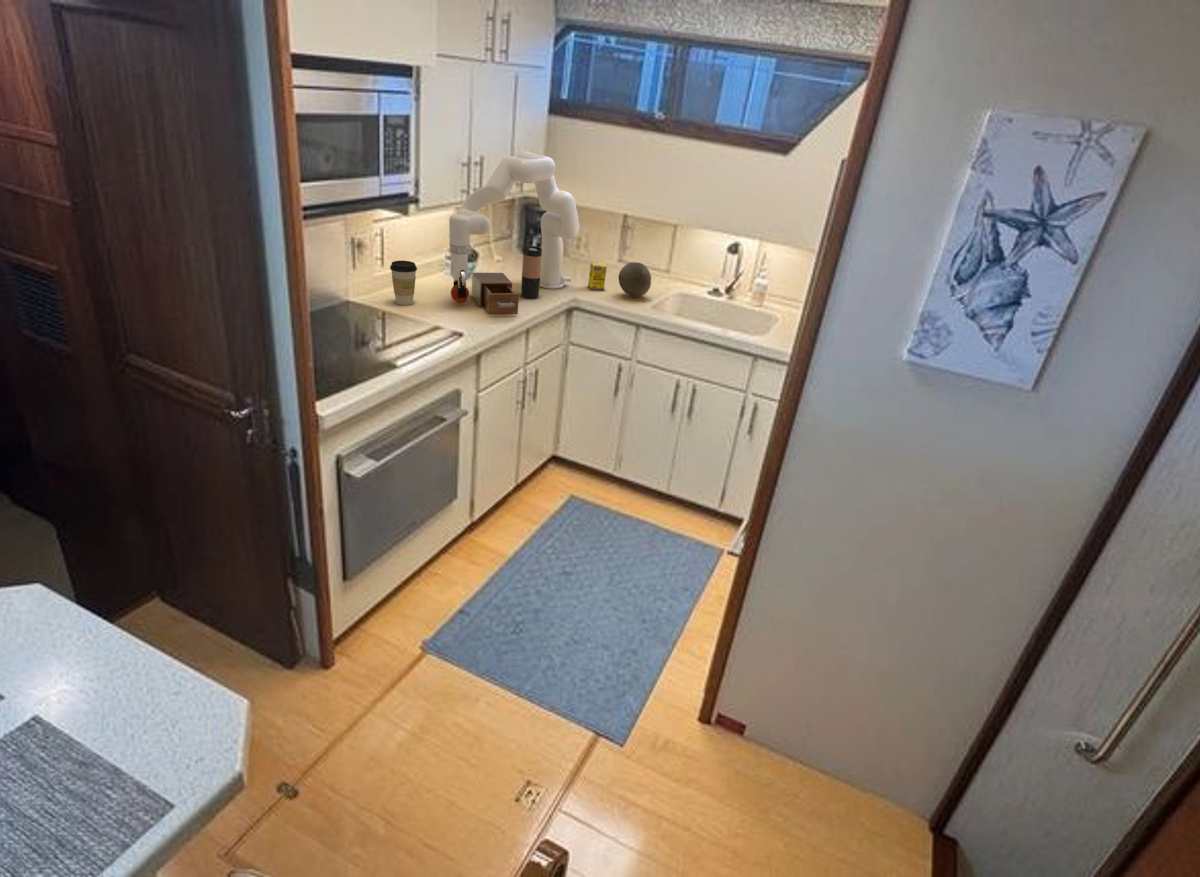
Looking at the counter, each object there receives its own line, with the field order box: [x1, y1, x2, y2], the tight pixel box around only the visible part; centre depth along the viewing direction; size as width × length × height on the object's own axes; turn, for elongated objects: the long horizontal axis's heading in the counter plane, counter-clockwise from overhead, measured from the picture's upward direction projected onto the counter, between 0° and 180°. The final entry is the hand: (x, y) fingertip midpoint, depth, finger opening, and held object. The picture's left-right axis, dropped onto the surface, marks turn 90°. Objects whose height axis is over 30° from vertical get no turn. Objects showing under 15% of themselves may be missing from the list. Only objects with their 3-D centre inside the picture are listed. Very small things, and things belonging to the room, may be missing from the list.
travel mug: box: [520, 245, 542, 300], centre depth 285 cm, size 8×8×20 cm
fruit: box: [450, 285, 470, 304], centre depth 267 cm, size 7×7×8 cm
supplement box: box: [587, 262, 607, 292], centre depth 308 cm, size 6×6×11 cm
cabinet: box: [471, 272, 513, 308], centre depth 275 cm, size 15×13×10 cm
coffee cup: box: [389, 260, 418, 306], centre depth 261 cm, size 10×10×15 cm
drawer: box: [482, 285, 520, 315], centre depth 264 cm, size 18×11×8 cm, turn 22°
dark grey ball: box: [618, 262, 652, 298], centre depth 301 cm, size 14×14×15 cm
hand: (459, 294), depth 268 cm, fingers closed on fruit, 7 cm apart
